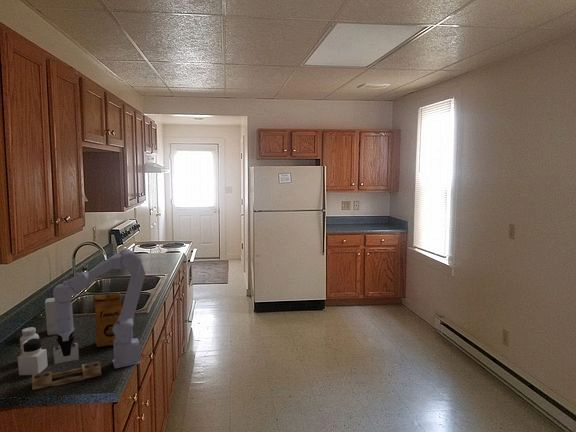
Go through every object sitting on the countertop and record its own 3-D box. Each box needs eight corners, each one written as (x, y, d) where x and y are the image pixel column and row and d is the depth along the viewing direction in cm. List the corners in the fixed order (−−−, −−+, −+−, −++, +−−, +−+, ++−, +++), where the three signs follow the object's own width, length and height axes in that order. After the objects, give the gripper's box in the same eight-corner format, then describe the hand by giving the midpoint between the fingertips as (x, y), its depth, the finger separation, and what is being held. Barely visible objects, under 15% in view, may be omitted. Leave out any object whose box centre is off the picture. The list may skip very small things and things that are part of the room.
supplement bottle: (44, 356, 180) (41, 326, 179) (35, 363, 174) (33, 332, 172) (27, 357, 180) (24, 326, 179) (18, 364, 173) (15, 332, 172)
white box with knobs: (78, 355, 167) (77, 340, 166) (78, 359, 163) (77, 344, 163) (54, 359, 163) (53, 345, 162) (54, 364, 159) (53, 349, 159)
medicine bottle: (48, 366, 171) (45, 336, 170) (38, 375, 164) (35, 343, 163) (29, 366, 171) (26, 336, 170) (18, 375, 164) (16, 344, 163)
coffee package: (126, 346, 190) (123, 295, 187) (94, 350, 186) (91, 298, 184) (127, 337, 199) (124, 289, 197) (96, 341, 195) (93, 292, 193)
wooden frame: (99, 367, 169) (98, 359, 169) (101, 375, 163) (101, 367, 163) (33, 381, 159) (32, 372, 159) (32, 390, 153) (31, 381, 152)
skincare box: (62, 333, 205) (60, 300, 203) (46, 336, 202) (43, 302, 200) (64, 327, 212) (62, 296, 211) (48, 329, 210) (46, 297, 208)
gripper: (51, 313, 166) (54, 348, 167) (51, 325, 153) (54, 363, 155) (72, 310, 169) (75, 344, 171) (74, 322, 156) (76, 359, 158)
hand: (66, 353), depth 163 cm, fingers closed on white box with knobs, 4 cm apart
